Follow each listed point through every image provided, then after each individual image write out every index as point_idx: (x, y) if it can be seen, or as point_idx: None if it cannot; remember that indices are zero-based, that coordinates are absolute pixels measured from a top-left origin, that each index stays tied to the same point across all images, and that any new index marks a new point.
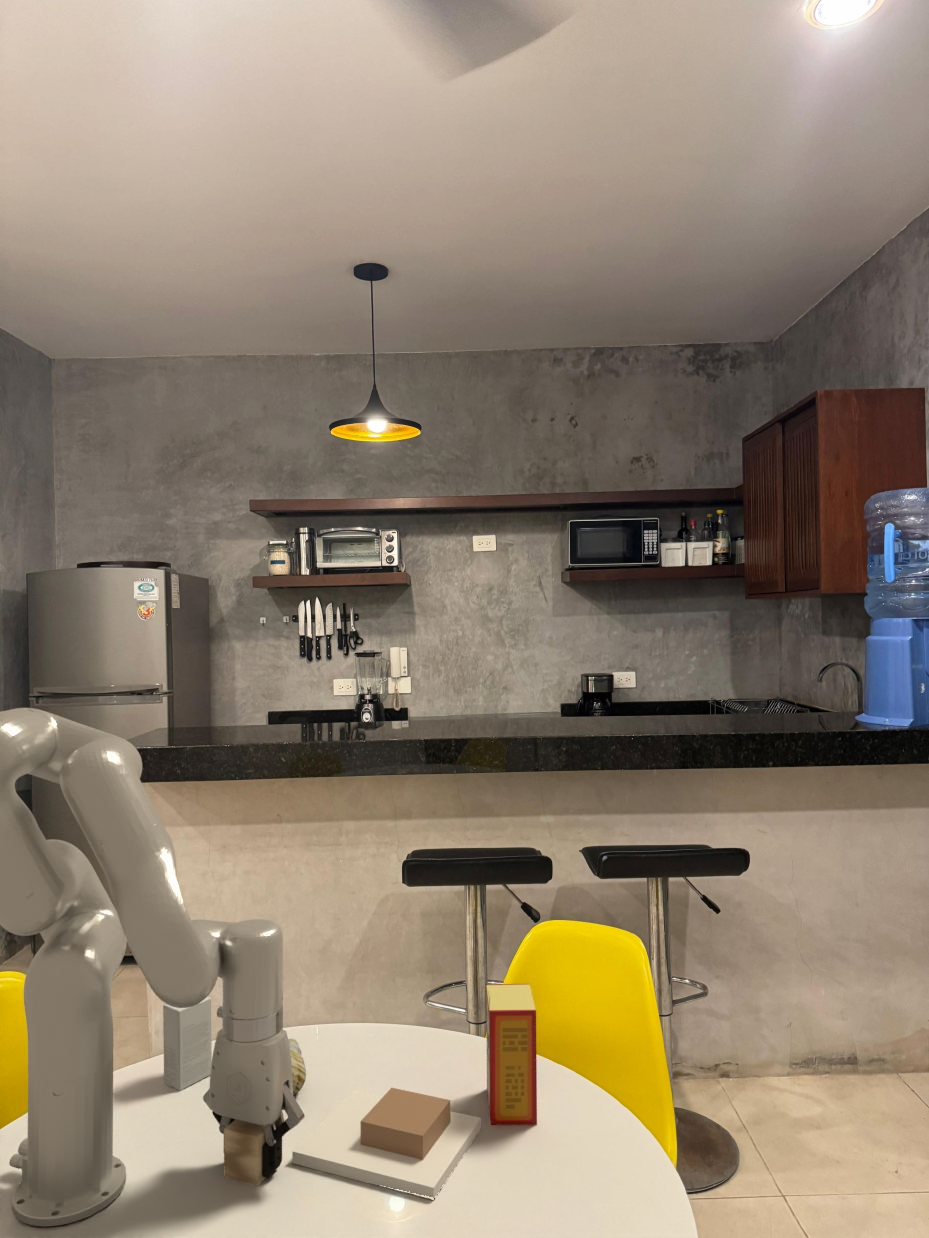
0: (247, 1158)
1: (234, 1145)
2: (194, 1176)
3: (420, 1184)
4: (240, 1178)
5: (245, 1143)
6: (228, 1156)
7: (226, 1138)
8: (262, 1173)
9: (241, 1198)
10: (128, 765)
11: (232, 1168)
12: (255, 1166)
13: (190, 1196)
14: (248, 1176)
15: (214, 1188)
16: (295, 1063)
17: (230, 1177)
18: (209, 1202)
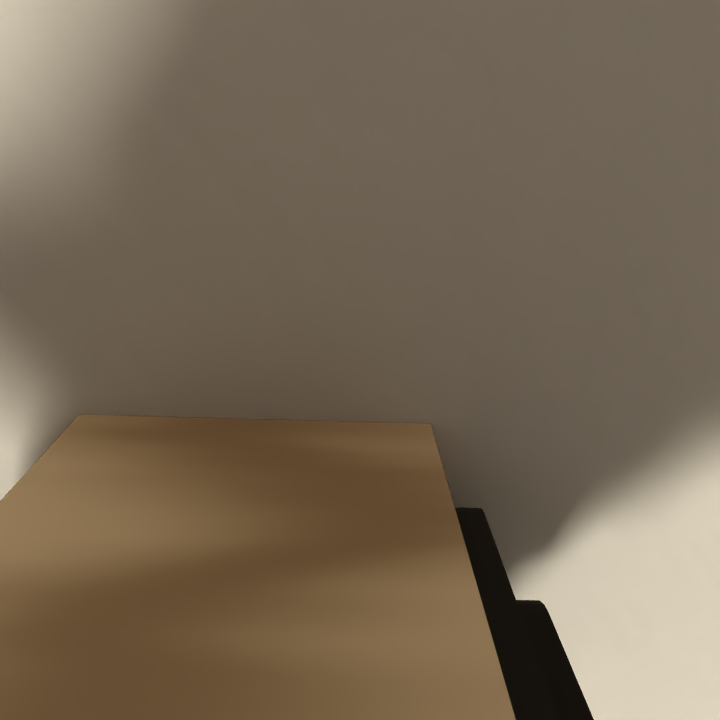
0: (109, 548)
1: (305, 641)
2: (688, 345)
3: None
4: (252, 430)
5: (73, 700)
6: (400, 532)
7: (467, 705)
8: None
9: (86, 228)
10: None
11: (340, 467)
12: (16, 504)
13: (573, 82)
14: (155, 446)
15: (416, 265)
16: None
17: (363, 427)
18: (335, 67)
